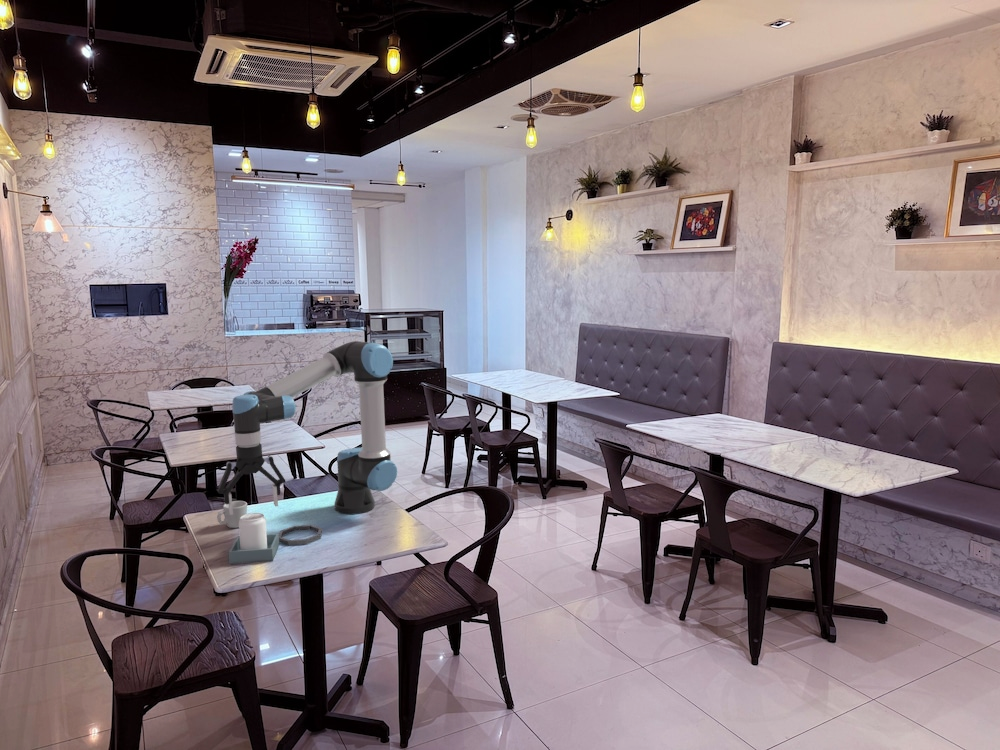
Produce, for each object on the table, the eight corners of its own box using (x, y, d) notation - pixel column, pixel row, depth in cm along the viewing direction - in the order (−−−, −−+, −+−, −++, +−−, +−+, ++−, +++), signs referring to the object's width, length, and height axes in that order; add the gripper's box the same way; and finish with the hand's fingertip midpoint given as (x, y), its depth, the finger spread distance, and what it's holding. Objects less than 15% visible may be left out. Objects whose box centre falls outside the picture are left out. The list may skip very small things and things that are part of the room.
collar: (323, 528, 236) (323, 524, 236) (319, 543, 223) (319, 539, 223) (282, 530, 234) (282, 526, 234) (275, 546, 220) (275, 542, 220)
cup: (224, 534, 231) (223, 511, 230) (212, 528, 236) (211, 507, 235) (252, 524, 240) (251, 503, 239) (240, 520, 245) (239, 499, 243)
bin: (279, 545, 222) (278, 533, 221) (272, 561, 209) (272, 549, 208) (238, 547, 219) (237, 536, 219) (229, 564, 207) (228, 551, 206)
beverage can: (238, 558, 209) (235, 522, 208) (243, 548, 217) (241, 513, 216) (265, 556, 211) (263, 520, 209) (269, 546, 219) (267, 511, 217)
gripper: (286, 436, 218) (291, 498, 222) (204, 447, 206) (210, 513, 209) (291, 441, 212) (296, 505, 215) (206, 453, 200) (213, 520, 203)
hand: (253, 509), depth 212 cm, fingers open, 13 cm apart
